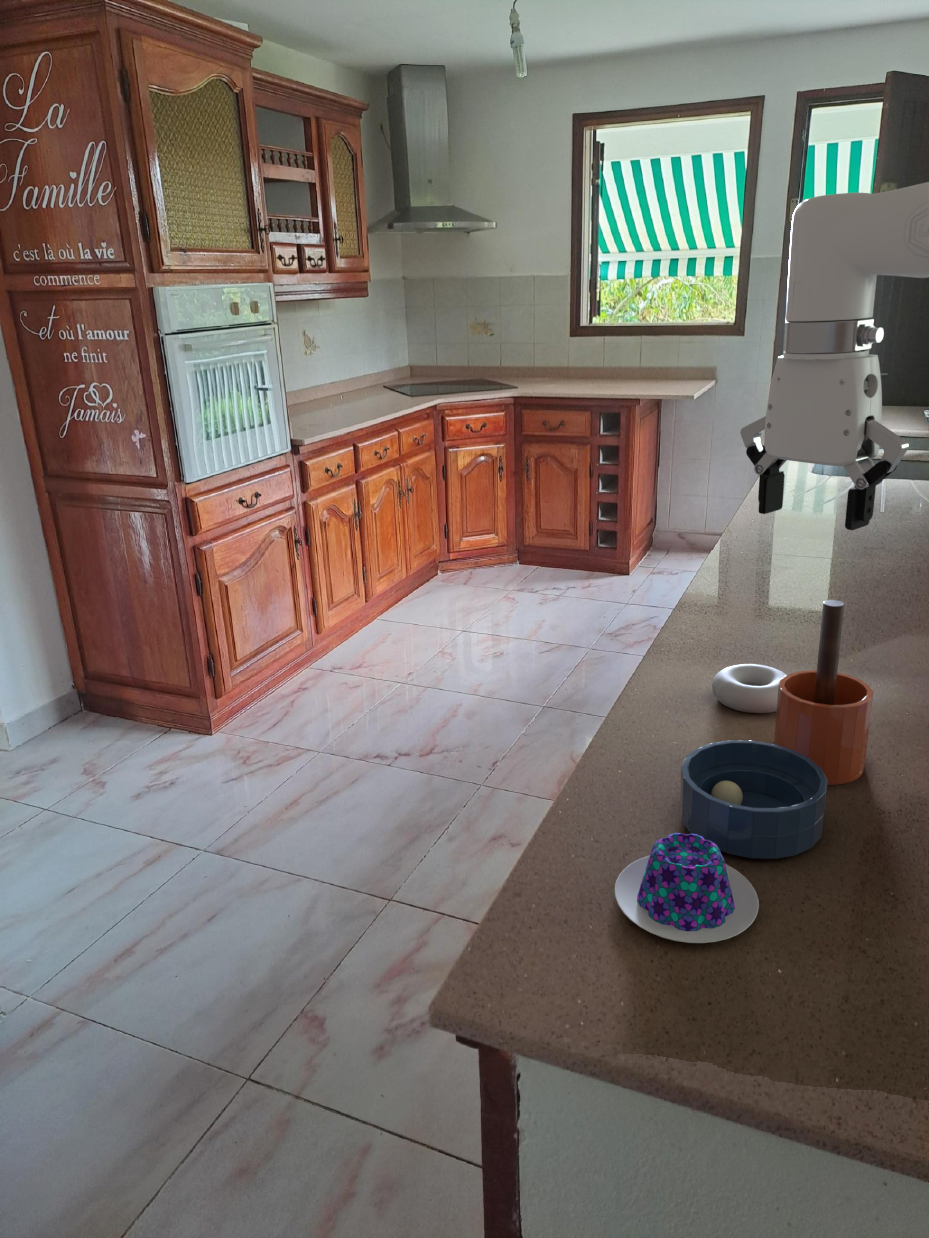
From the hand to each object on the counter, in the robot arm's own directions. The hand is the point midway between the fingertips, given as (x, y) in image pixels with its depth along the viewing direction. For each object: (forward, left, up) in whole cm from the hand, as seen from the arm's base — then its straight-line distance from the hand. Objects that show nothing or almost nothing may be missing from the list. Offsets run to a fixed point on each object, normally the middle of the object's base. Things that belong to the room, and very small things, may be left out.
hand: (811, 519), depth 88 cm
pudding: (-4, +29, -27) cm, 40 cm away
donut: (+10, -10, -27) cm, 31 cm away
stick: (-3, 0, -26) cm, 27 cm away
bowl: (-2, +15, -27) cm, 31 cm away
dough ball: (0, +15, -25) cm, 29 cm away
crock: (-3, 0, -27) cm, 27 cm away
